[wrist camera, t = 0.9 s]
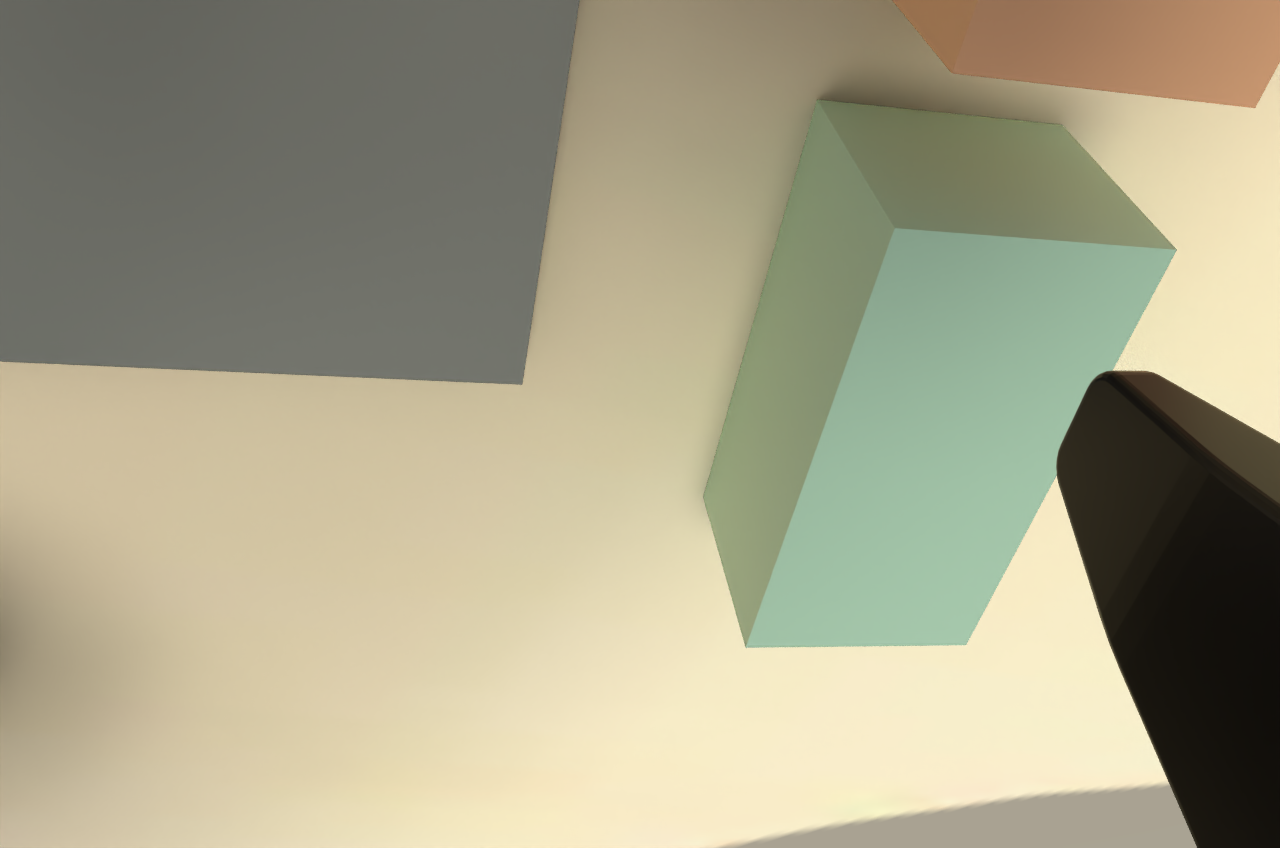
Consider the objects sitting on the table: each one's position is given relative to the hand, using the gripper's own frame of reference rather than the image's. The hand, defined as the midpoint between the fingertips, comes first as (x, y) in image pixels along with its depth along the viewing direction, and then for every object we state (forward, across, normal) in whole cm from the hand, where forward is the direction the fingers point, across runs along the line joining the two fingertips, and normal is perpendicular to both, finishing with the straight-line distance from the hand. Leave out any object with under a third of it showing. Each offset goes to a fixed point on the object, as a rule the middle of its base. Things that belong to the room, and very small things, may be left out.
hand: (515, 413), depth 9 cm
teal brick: (+12, -9, +8) cm, 17 cm away
